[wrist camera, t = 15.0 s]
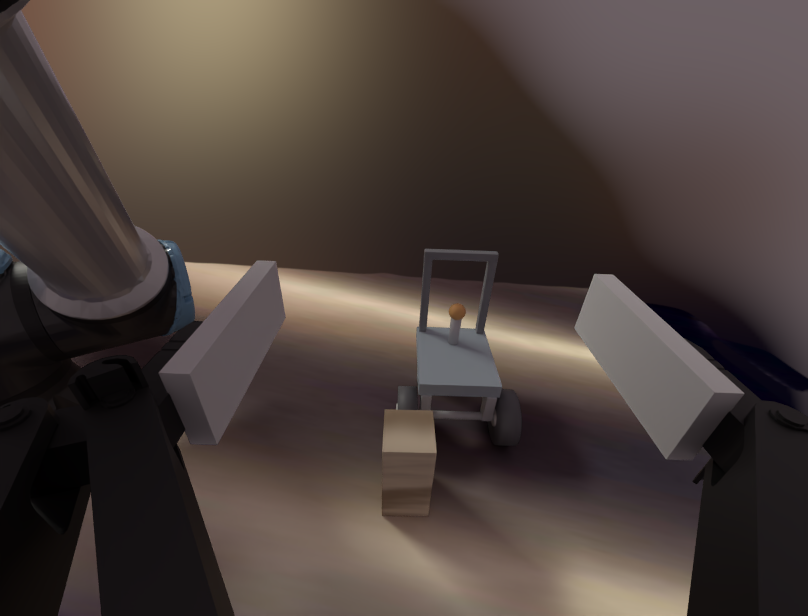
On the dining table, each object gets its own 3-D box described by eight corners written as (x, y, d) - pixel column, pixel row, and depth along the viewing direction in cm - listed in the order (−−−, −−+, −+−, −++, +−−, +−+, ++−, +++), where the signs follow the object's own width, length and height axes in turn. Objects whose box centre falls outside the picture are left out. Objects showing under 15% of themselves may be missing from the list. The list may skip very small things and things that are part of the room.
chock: (428, 516, 38) (436, 452, 32) (382, 515, 38) (382, 451, 32) (425, 473, 42) (432, 410, 36) (384, 472, 42) (384, 409, 36)
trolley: (515, 457, 44) (562, 313, 33) (394, 454, 44) (400, 308, 32) (490, 375, 57) (518, 251, 45) (397, 372, 57) (402, 247, 45)
